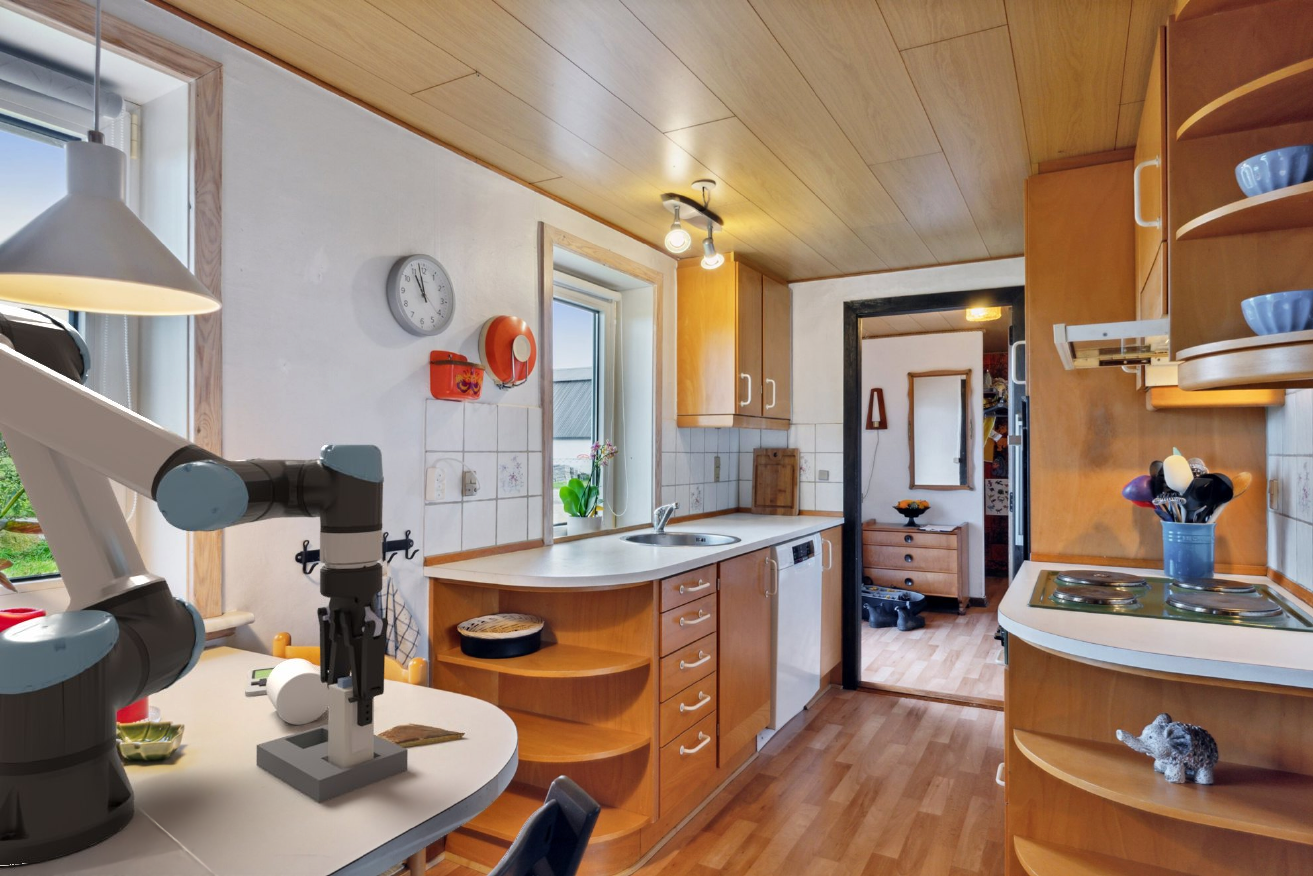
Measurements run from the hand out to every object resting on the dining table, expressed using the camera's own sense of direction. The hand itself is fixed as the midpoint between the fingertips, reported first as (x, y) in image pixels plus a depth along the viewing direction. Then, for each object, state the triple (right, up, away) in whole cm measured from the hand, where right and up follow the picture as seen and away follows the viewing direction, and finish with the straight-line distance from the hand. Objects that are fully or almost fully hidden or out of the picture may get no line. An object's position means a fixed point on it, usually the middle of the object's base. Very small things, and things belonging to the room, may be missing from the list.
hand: (351, 744), depth 99 cm
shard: (+4, -5, +15) cm, 16 cm away
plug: (0, -4, 0) cm, 4 cm away
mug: (-16, -5, +25) cm, 30 cm away
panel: (-4, -5, +3) cm, 7 cm away
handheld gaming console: (-30, -6, +41) cm, 51 cm away
